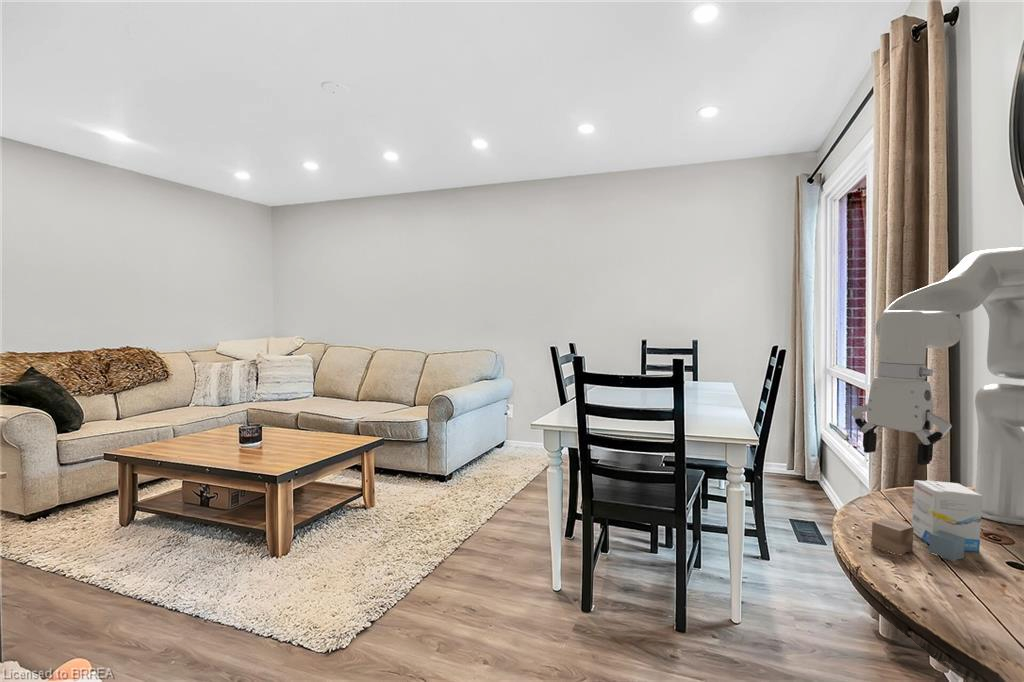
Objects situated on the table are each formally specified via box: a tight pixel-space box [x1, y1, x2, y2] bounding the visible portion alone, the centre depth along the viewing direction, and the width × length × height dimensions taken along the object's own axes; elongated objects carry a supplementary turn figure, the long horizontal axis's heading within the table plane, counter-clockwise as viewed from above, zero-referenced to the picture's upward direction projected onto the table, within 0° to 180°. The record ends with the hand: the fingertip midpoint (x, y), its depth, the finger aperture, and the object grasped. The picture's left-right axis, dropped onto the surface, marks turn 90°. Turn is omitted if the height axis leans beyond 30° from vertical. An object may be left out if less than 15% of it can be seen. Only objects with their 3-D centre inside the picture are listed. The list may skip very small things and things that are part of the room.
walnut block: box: [870, 517, 914, 556], centre depth 105 cm, size 5×5×5 cm
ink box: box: [911, 479, 982, 553], centre depth 109 cm, size 9×8×12 cm
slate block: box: [928, 530, 965, 562], centre depth 102 cm, size 4×4×4 cm
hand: (895, 457), depth 104 cm, fingers open, 9 cm apart
